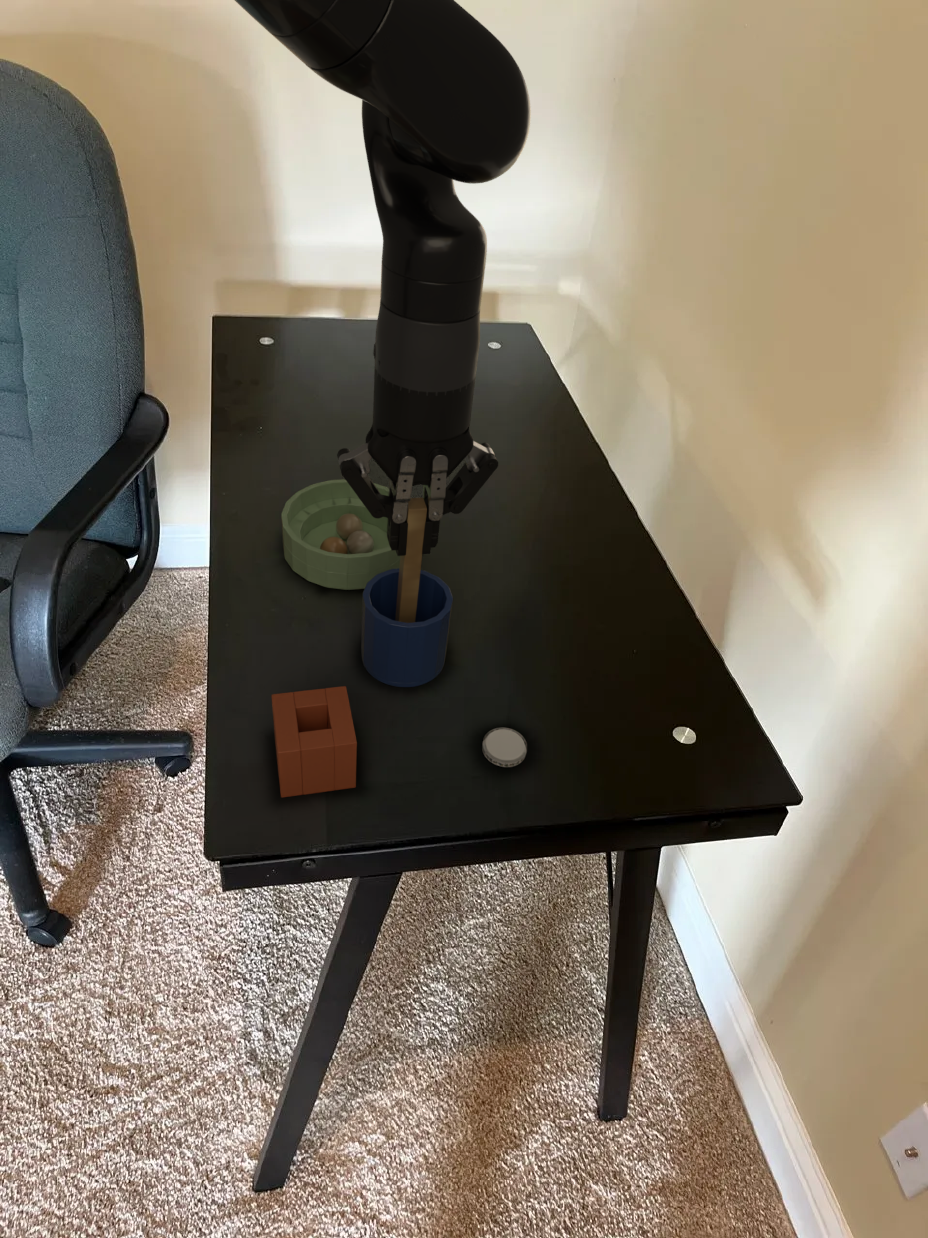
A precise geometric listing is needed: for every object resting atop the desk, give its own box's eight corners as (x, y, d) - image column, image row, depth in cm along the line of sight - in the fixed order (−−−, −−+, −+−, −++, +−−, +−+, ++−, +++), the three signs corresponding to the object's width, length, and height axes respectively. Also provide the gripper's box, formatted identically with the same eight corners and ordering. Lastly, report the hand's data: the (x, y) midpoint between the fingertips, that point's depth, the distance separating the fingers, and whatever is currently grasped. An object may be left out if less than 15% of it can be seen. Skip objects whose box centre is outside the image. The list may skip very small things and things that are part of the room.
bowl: (290, 599, 86) (288, 561, 83) (278, 518, 96) (276, 482, 92) (423, 588, 89) (426, 552, 86) (399, 511, 99) (401, 476, 96)
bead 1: (309, 549, 89) (327, 537, 87) (324, 540, 91) (342, 528, 89) (325, 573, 89) (343, 561, 87) (339, 563, 91) (357, 551, 90)
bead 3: (355, 567, 91) (337, 546, 89) (362, 553, 93) (345, 532, 92) (375, 555, 89) (357, 534, 88) (382, 541, 92) (365, 520, 90)
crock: (368, 692, 78) (371, 630, 72) (355, 632, 83) (357, 571, 78) (453, 682, 80) (461, 622, 74) (435, 624, 85) (441, 564, 80)
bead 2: (347, 546, 94) (331, 538, 92) (345, 522, 95) (329, 513, 92) (368, 539, 93) (353, 531, 90) (367, 515, 94) (351, 506, 91)
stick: (397, 641, 79) (408, 509, 68) (394, 629, 80) (404, 497, 69) (413, 639, 80) (427, 508, 68) (410, 627, 81) (423, 496, 69)
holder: (280, 798, 68) (277, 753, 64) (274, 739, 72) (271, 693, 68) (355, 787, 70) (356, 742, 66) (345, 731, 74) (345, 685, 70)
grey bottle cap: (534, 759, 74) (535, 755, 73) (494, 772, 72) (495, 767, 72) (513, 726, 76) (514, 722, 76) (474, 738, 75) (475, 734, 74)
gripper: (339, 390, 56) (339, 583, 68) (528, 385, 60) (497, 570, 71) (325, 341, 62) (327, 528, 73) (500, 340, 65) (476, 519, 77)
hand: (411, 548), depth 72 cm, fingers closed on stick
